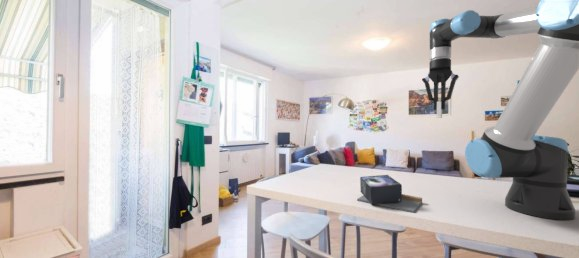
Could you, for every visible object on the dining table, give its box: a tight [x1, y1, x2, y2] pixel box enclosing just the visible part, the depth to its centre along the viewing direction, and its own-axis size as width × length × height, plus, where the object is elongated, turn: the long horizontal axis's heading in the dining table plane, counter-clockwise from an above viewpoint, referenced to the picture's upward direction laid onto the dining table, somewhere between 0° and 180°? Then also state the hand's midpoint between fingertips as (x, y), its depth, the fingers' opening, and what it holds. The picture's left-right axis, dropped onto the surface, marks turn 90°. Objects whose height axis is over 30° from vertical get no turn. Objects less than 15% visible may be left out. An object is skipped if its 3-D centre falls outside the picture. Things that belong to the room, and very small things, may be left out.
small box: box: [359, 174, 403, 205], centre depth 85 cm, size 11×6×10 cm
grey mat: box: [356, 193, 423, 214], centre depth 84 cm, size 18×12×2 cm, turn 50°
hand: (439, 117), depth 100 cm, fingers closed
